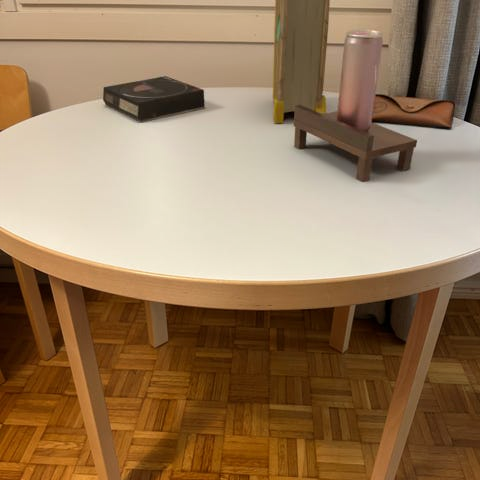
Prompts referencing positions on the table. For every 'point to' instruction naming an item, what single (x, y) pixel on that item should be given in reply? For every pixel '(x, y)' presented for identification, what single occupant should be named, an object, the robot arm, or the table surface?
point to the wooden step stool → (353, 139)
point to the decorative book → (299, 55)
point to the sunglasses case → (413, 111)
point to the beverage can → (359, 78)
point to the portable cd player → (154, 98)
